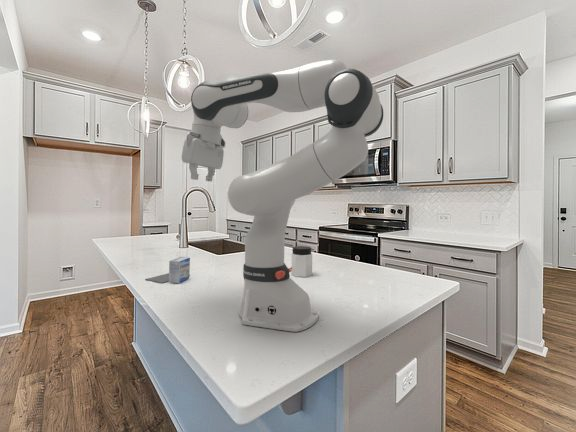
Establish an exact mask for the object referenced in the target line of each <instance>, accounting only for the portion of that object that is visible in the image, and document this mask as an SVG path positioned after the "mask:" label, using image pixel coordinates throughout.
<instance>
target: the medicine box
mask: <svg viewBox="0 0 576 432" xmlns="http://www.w3.org/2000/svg"><path fill="white" fill-rule="evenodd" d="M168 263H169V265H168V268H169V269H168V270H169V272H168V273H169V282H168V283H174V284H181V283H182V282H184V281H186V280H188V279H190V276H189V275H191V274H190V273H191V271H190V269H191V268H190V267H191V257H188V256H180V257H176V258H174V259H172V260H169V262H168Z"/></svg>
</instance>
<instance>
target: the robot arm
mask: <svg viewBox="0 0 576 432" xmlns="http://www.w3.org/2000/svg"><path fill="white" fill-rule="evenodd" d="M190 102H191V103H190V105H191V108H192V110H193V121H192V125H191V131H189V133H187V134H186V138H185V139H184V141H183V144H182V145H183V146H182V153H181V161H182V162H183V163H185V164H188V165H189V166H188V169H189V171H190V179H191V180H195V181H198V180H199V176H200V175H199V174H198V170H197V169H198V168H199V167H204V168H207V175H205V181H206V182H213V177H214V175H215V173H216V170H221V169H222V167H223V163H224V162H223V161H224V154H225V151H224V148H226V140H225V139H224V138H223V136H222V134H221V127H227V128H228V129H239V128H241V127H243V126H244V125H245V123H246V122H247V120H248V117H249V107H248V104H263V105H266V106H269V107H273V108H275V109H278V110H280V111H283V112H286V113H302V112H307V111H310V110H314V109H319V108H323V107H324V108H326V116H327V122H328V123H329V124H330V125H331V126H332V127H331V129H330V130H329V131H328V132H327V133H326V134H325V135H323V136H322V137H320V138H319V139H317V140H315V141H313V142H311V143H310V144H308V145H307V146H305V147H303V148H302V149H300V150H299V151H297V152H295V153H294V154H291V155H290V156H288V157H286V158H284V159H281V160H279V161H277V162H274V163H272V164H268V165H267V166H263V167H262V168H260V169H259V168H258V170H255V171H253V172H250V173H246V174H242V175H239V176H236V178H234V179H233V180H232V181H231V182H230V184H229V186H228V190H227V198H228V202H229V205H230V206H231V208H232V209H233V210H234V211H235V212H238V213H240V214H243V215H246V216H251V217H253V219H252V223H251V226H250V229H249V230H248V231H247V232H246V234H245V238H244V264H243V269H242V270H243V271H242V274H243V281H244V282H243V283H244V285H243V294H242V300H241V305H240V309H239V312H238V315H239V317H240V318H241V319H242V321H241V323H242V325H245V326H252V327H256V328H257V327H258V328H264V329H272V330H279V331H280V330H281V331H285V332H286V331H287V332H293V333H294V332H295V333H296V332H301V331H305V330H307V329H308V328H310V327H312V326H313V325H315V324H316V323H317V321H318V320H319V317H320V316H319V310H316V309H314V308H312V306H311V300H310V296H309V293H307V292H306V291H305V290H304V289H303V288H302V287H301V286H300V285H299V284H297V283H296V282H295V281H294V280H293V278H291V276H290V275H291V274H290V273H292V266H291V267H288V266H287V265H286V263H285V238H286V231H287V226H288V221H289V219H290V218H289V217H290V213H291V210H292V207H293V206H294V204H295V203H296V200H297V199H299V198H302V197H305V196H309V195H311V194H313V193H314V192H317V191H318V190H320V189H322V188H324V187H326V186H328V185H330V184H332V183H333V182H335V181H337V180H339V179H340V178H342V177H344V176H345V175H348V174H349V173H350V172H352V171H354V169H355V168H357V167H358V166H359V165H360V164H362V163H363V162H365V160H366V159H367V157H368V155H369V145H368V140H367V138H366V137H369V136H372V135H373V134H375V133H376V132H377V131H378V130H379V129H380V128H381V126H382V124H383V120H384V107H383V105H382V104H381V101H380V95H379V93H378V91H377V89H376V88H375V86H374V85H373V84H372V82H371V80H370V78H369V77H368V76H367V75H366V74H365V73H363V72H362V71H360V70H358V69H355V68H347V66H346V64H345V63H344V62H343V61H342V60H340V59H337V58H336V59H335V58H334V59H324V60H319V61H318V60H317V61H313V62H309V63H306V64H301V65H300V66H296V67H293V68H290V69H284V70H280V71H274V72H273V71H272V72H266V73H265V72H263V73H257V74H253V75H246V76H244V77H243V76H242V77H239V78H234V79H230V80H225V81H221V82H215V81H212V80H211V81H210V80H206V81H202V82H200V83H199V84H198V85H196V87H195V88H194V89H193V91H192V93H191V97H190Z"/></svg>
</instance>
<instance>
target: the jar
mask: <svg viewBox="0 0 576 432" xmlns="http://www.w3.org/2000/svg"><path fill="white" fill-rule="evenodd" d="M291 251H292V253H291V267H292V269H291V270H292V271H291V275H292V276H293V277H295V278H309V277H311V276H313V253H312V247H311V246H303V245H299V246H298V245H296V246H293V247H292V250H291Z"/></svg>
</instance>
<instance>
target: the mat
mask: <svg viewBox="0 0 576 432" xmlns="http://www.w3.org/2000/svg"><path fill="white" fill-rule="evenodd" d="M190 276H191V274H189V277H190ZM145 281H149V282H153V283H156V284H157V283H158V284H166V283H170V282H169V272H168V273H164V274H159V275H156V276H153V277H148V278H145Z"/></svg>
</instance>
